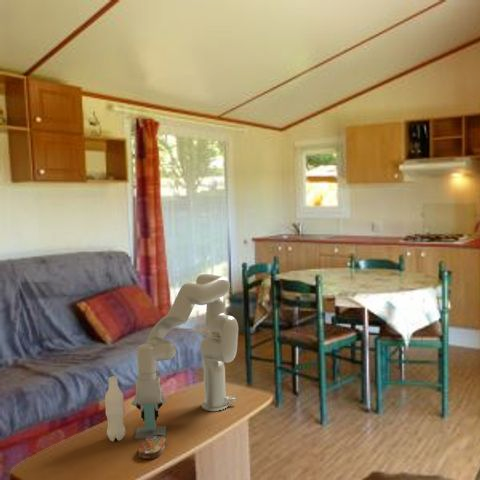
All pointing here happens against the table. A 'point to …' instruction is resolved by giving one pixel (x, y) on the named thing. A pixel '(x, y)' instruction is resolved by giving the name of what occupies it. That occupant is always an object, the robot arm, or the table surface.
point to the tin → (152, 446)
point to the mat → (149, 432)
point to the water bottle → (114, 410)
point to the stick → (149, 416)
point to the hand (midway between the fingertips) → (150, 418)
